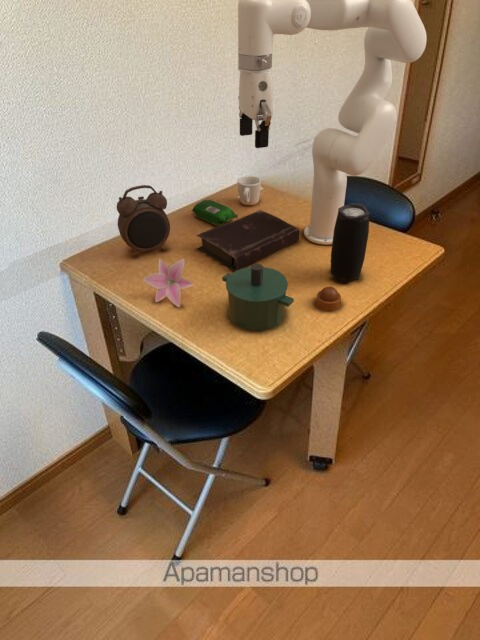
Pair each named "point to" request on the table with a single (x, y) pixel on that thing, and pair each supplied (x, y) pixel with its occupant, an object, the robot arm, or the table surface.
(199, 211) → the snack package
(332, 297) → the brown domed piece
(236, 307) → the pot
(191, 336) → the table surface
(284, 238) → the diary
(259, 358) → the table surface
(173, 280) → the lily
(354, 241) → the portable speaker
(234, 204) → the table surface
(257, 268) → the pot lid
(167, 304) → the table surface
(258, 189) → the cup
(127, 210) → the alarm clock
